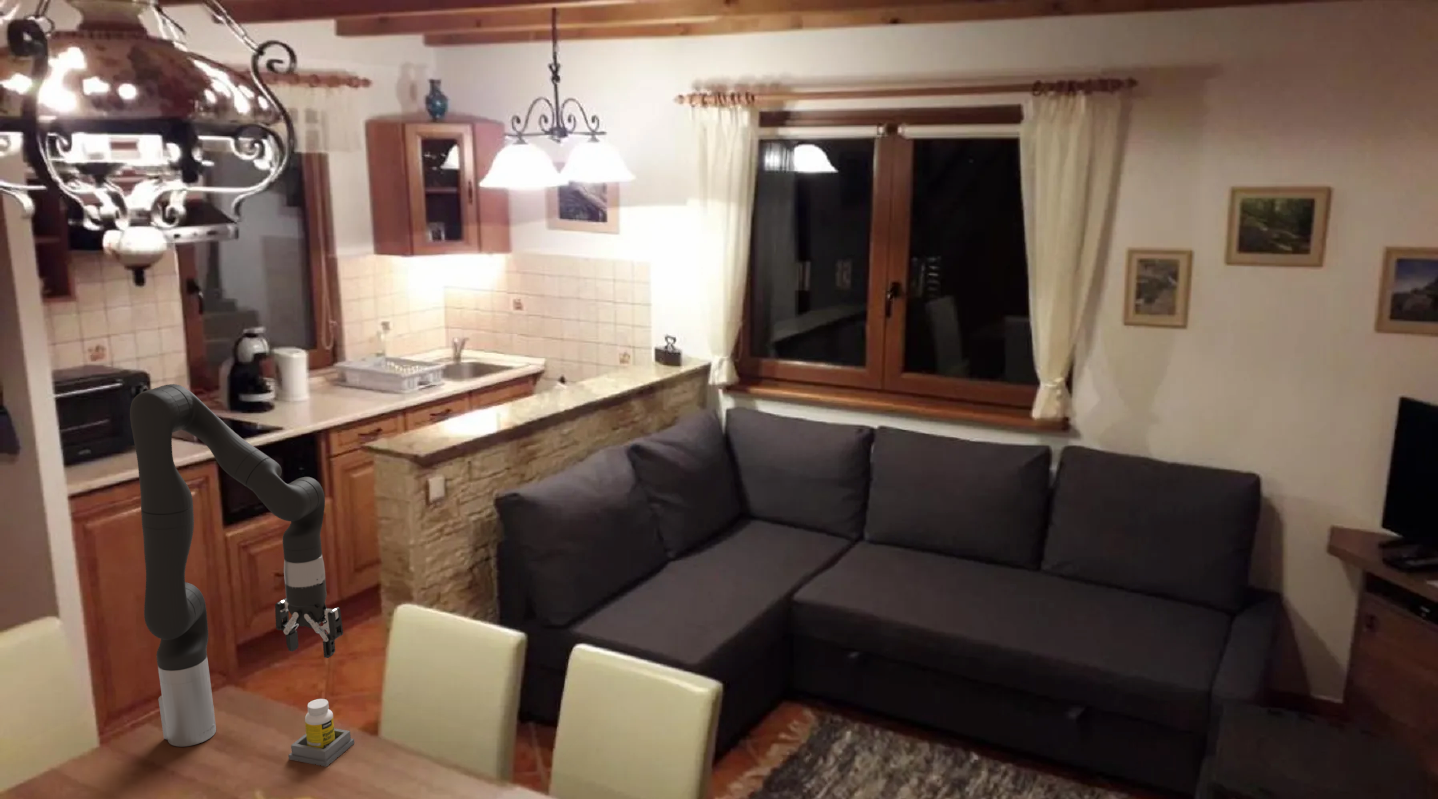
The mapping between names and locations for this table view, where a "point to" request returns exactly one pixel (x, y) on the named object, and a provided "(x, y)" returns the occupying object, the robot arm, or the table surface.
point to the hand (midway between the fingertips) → (311, 653)
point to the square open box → (321, 755)
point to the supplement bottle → (319, 724)
